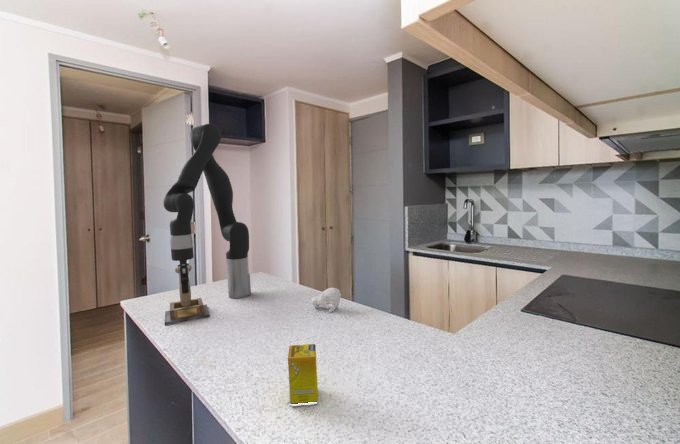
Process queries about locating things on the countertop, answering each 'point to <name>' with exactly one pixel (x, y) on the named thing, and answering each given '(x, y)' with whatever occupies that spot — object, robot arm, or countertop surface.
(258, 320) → the countertop surface
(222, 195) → the robot arm
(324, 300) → the white animal figurine
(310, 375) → the supplement box
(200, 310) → the socket
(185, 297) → the handle
